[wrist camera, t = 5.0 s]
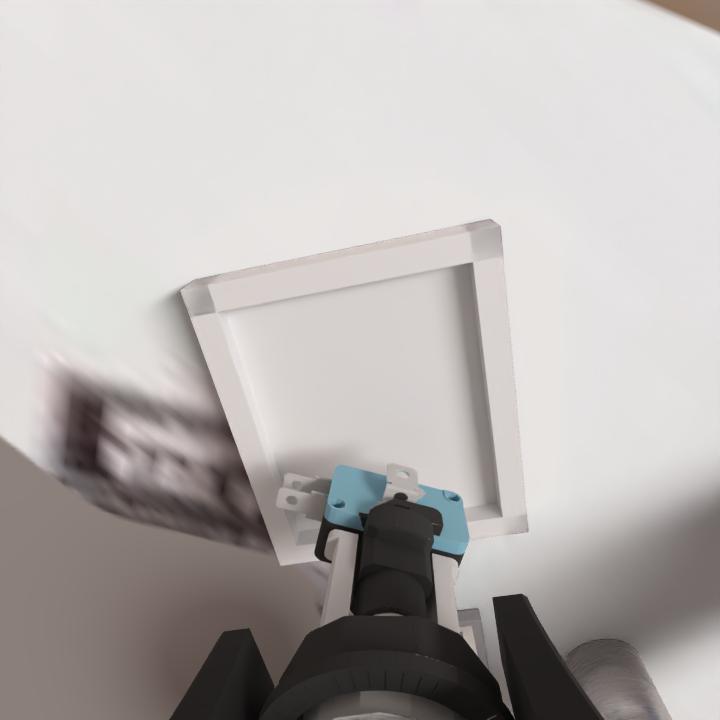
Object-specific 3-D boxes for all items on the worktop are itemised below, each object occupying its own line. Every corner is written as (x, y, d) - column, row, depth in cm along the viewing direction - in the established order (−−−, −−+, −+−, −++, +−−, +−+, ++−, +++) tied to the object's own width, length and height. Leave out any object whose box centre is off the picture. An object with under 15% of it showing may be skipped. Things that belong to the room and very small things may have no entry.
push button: (274, 528, 19) (149, 864, 9) (301, 406, 17) (181, 669, 8) (441, 571, 19) (483, 947, 10) (485, 454, 17) (591, 772, 8)
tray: (490, 219, 17) (500, 225, 16) (518, 508, 22) (528, 532, 21) (194, 279, 18) (180, 290, 17) (285, 541, 23) (280, 565, 22)
